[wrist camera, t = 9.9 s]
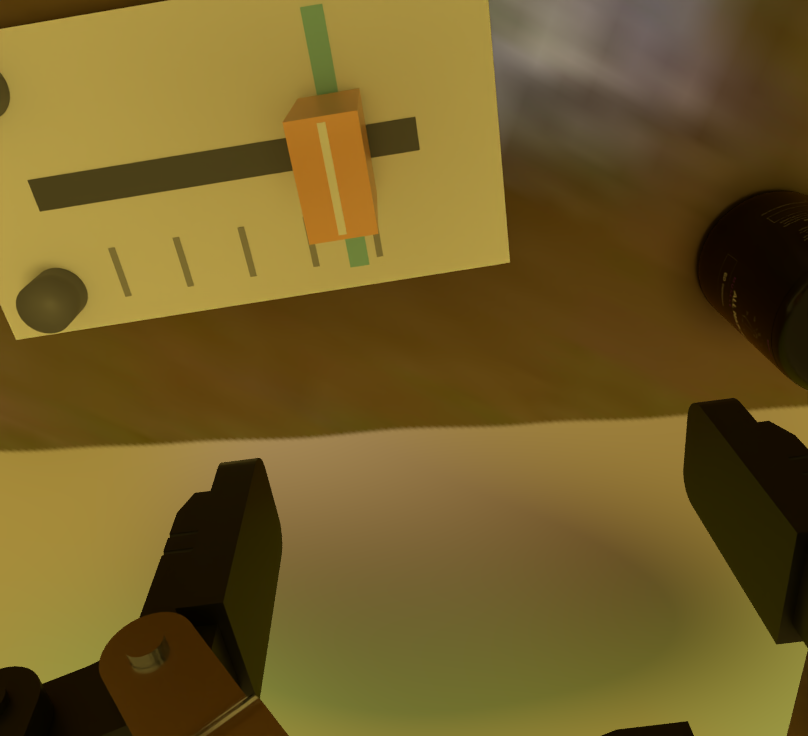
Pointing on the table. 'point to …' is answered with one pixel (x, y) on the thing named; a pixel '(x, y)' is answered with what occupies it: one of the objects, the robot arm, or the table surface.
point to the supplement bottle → (763, 277)
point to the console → (235, 154)
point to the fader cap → (332, 166)
